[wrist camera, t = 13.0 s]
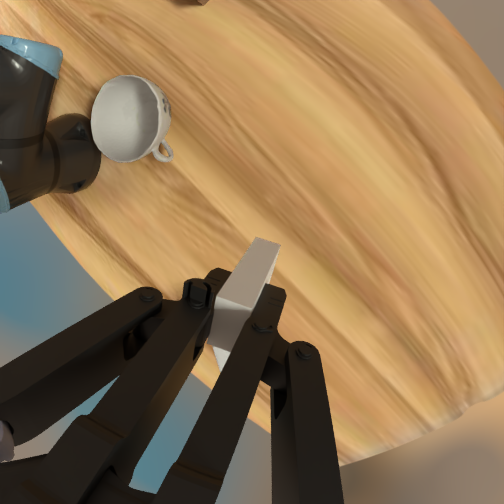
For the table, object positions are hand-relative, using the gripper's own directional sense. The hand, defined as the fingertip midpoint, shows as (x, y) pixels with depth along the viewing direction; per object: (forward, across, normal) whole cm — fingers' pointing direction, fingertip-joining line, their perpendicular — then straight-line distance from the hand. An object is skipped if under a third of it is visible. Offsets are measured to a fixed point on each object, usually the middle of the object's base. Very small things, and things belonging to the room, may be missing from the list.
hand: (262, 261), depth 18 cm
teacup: (+27, -24, +3) cm, 36 cm away
